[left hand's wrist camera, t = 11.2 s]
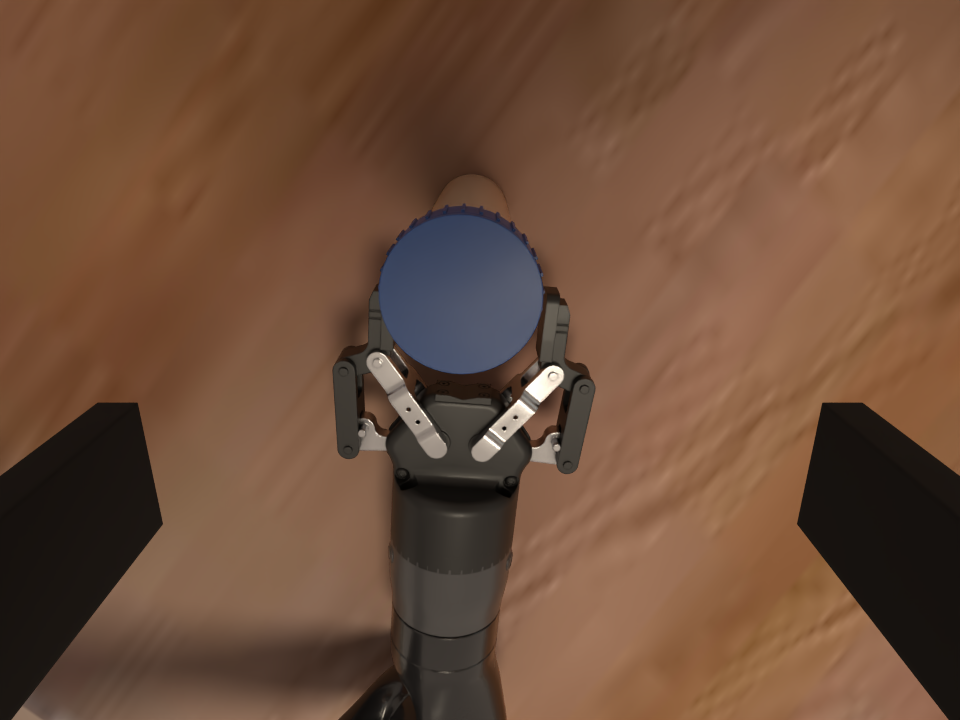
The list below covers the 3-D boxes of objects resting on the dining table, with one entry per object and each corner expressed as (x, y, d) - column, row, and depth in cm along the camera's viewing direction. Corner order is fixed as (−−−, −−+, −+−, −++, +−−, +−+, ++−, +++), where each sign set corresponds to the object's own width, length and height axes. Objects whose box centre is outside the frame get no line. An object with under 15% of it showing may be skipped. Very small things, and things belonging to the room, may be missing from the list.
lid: (541, 200, 21) (547, 209, 19) (540, 354, 23) (545, 375, 21) (379, 204, 21) (368, 213, 19) (391, 357, 23) (382, 378, 21)
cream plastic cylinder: (506, 173, 37) (527, 225, 20) (507, 244, 39) (527, 354, 21) (435, 174, 38) (390, 229, 20) (438, 246, 39) (399, 357, 21)
